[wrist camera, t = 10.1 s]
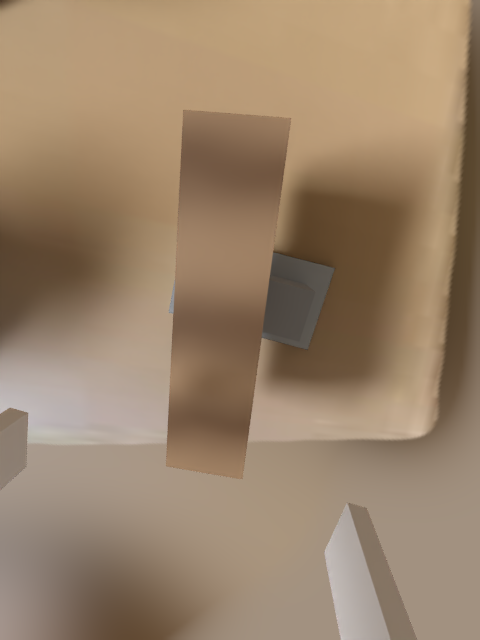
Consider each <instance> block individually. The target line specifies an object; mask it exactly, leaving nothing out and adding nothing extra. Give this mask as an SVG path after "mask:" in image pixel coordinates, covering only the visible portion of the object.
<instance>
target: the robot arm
mask: <svg viewBox="0 0 480 640" xmlns="http://www.w3.org/2000/svg"><path fill="white" fill-rule="evenodd" d="M27 430H28V413H27V412H23V411H20V410H16V409H13V408H9V409H7V410H6V411H4V412H2V413H1V414H0V490H1V489H2V488H3V487H5V486H6V485H7V484H8V483H9V482H10V481H11V480H12V479H13V478H14V477H16V476H17V475H18V474H19V473H20V472H21V471H22V470H23V469H24V468H25V467H26V459H27V456H26V455H27ZM325 558H326V564H327V569H328V574H329V579H330V584H331V590H332V595H333V601H334V606H335V611H336V616H337V621H338V627H339V632H340V638H341V640H417V638H416V635H415V633H414V630H413V628H412V625H411V622H410V620H409V617H408V614H407V612H406V609H405V607H404V604H403V601H402V599H401V596H400V594H399V591H398V588H397V586H396V583H395V581H394V578H393V575H392V573H391V570H390V568H389V565H388V562H387V560H386V557H385V555H384V552H383V549H382V547H381V544H380V542H379V539H378V536H377V534H376V531H375V528H374V526H373V523H372V521H371V518H370V516H369V513H368V510H367V508H365V507H361V506H358V505H354V504H351V503H347V504H346V506H345V509H344V511H343V513H342V515H341V517H340V520H339V522H338V524H337V526H336V528H335V530H334V533H333V535H332V537H331V539H330V541H329V543H328V545H327V548H326V550H325Z"/></svg>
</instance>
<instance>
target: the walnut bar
mask: <svg viewBox="0 0 480 640" xmlns="http://www.w3.org/2000/svg"><path fill="white" fill-rule="evenodd" d="M290 123H291V118H282V117H269V116H256V115H243V114H230V113H217V112H204V111H191V110H183V128H182V149H181V169H180V190H179V210H178V231H177V251H176V271H175V292H174V312H173V333H172V353H171V374H170V394H169V415H168V435H167V456H166V457H167V458H166V466H168V467H173V468H179V469H185V470H191V471H196V472H202V473H208V474H214V475H220V476H226V477H232V478H237V479H242V477H243V471H244V462H245V456H246V449H247V441H248V434H249V426H250V419H251V412H252V404H253V397H254V389H255V382H256V375H257V367H258V360H259V352H260V345H261V338H262V330H263V323H264V315H265V308H266V301H267V293H268V286H269V278H270V271H271V264H272V256H273V249H274V241H275V234H276V227H277V219H278V212H279V204H280V197H281V190H282V182H283V175H284V167H285V160H286V153H287V145H288V138H289V130H290Z"/></svg>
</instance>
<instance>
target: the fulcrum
mask: <svg viewBox="0 0 480 640" xmlns="http://www.w3.org/2000/svg"><path fill="white" fill-rule="evenodd" d="M334 270H335V268H332V267H329V266H325V265H321V264H317V263H313V262H309V261H305V260H301V259H297V258H294V257H290V256H286V255H282V254H278V253H274V252H273V256H272V264H271V271H270V278H269V286H268V293H267V301H266V308H265V315H264V323H263V330H262V338H265V339H269V340H273V341H277V342H280V343H284V344H288V345H291V346H295V347H299V348H303V349H306V350H308V347H309V344H310V341H311V338H312V335H313V332H314V329H315V326H316V323H317V320H318V317H319V314H320V311H321V308H322V305H323V302H324V299H325V296H326V293H327V291H328V288H329V285H330V282H331V279H332V276H333V273H334ZM174 292H175V282H174V287H173V292H172V298H171V303H170V309H169V313H173V312H174Z"/></svg>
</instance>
